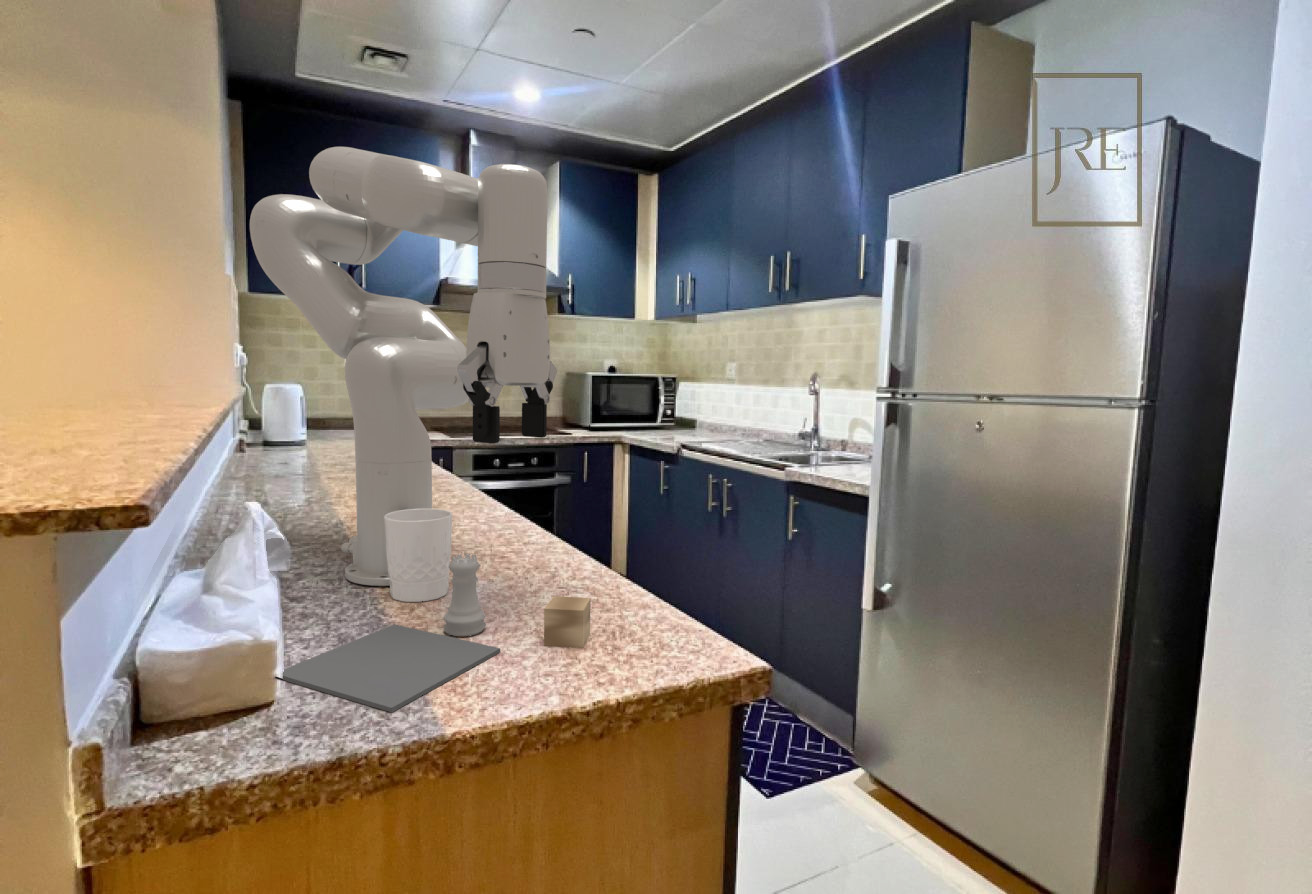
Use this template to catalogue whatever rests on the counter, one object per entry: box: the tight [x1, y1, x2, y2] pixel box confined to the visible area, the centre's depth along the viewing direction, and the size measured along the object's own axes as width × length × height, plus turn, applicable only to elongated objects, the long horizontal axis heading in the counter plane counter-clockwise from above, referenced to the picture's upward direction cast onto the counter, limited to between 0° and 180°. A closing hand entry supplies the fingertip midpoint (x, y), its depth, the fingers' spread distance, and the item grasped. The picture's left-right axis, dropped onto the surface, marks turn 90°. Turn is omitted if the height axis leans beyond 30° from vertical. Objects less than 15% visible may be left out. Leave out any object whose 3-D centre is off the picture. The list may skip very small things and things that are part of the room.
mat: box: [282, 623, 501, 713], centre depth 65 cm, size 14×14×1 cm
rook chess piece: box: [442, 553, 487, 637], centre depth 74 cm, size 4×4×8 cm
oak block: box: [543, 596, 591, 649], centre depth 72 cm, size 4×4×4 cm
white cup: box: [384, 508, 453, 603], centre depth 86 cm, size 8×8×10 cm
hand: (511, 438), depth 80 cm, fingers open, 8 cm apart
